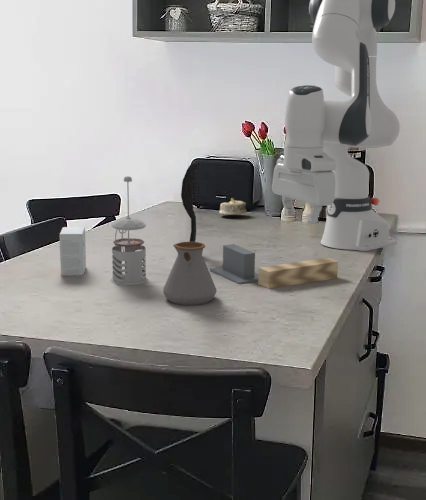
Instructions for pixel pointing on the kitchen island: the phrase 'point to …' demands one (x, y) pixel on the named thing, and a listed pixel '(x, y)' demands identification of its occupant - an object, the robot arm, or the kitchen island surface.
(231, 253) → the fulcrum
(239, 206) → the cake
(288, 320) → the kitchen island surface
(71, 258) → the small box
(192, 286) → the coffee pot
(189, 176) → the black curved piece
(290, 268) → the oak bar
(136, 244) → the french press
